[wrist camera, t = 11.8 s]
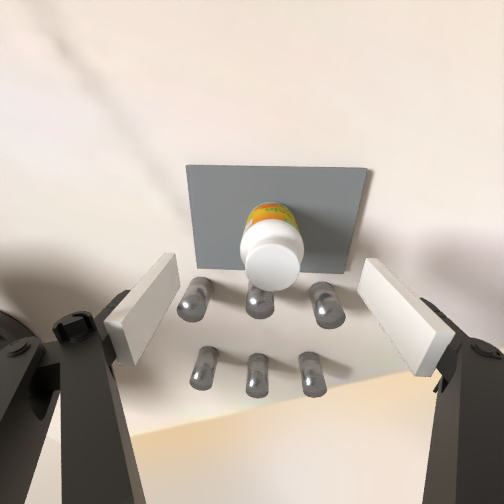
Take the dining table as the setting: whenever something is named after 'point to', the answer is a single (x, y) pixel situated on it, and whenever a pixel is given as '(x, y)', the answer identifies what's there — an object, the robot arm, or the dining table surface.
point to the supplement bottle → (271, 247)
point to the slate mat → (281, 191)
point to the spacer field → (261, 308)
